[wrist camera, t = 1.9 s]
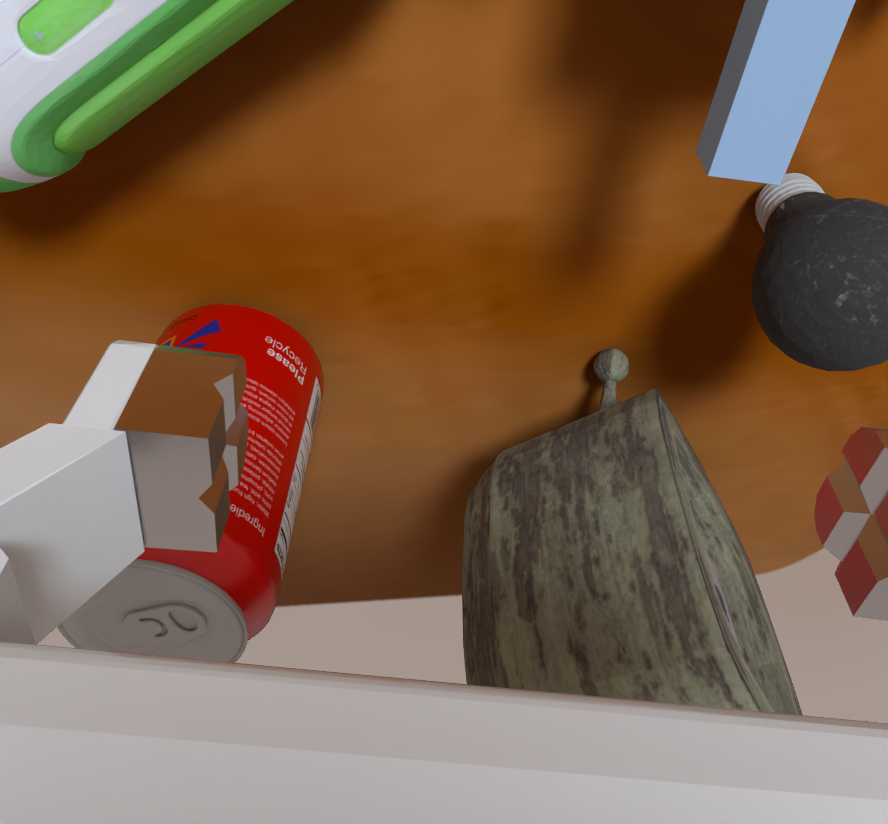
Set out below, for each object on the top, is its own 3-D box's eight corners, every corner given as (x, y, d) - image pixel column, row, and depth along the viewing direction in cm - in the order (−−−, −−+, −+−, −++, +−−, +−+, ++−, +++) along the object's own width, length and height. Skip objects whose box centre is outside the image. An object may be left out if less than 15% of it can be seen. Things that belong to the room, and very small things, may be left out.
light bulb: (679, 209, 34) (740, 354, 26) (788, 94, 31) (893, 219, 23) (774, 278, 36) (857, 431, 28) (885, 176, 33) (1013, 317, 25)
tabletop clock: (733, 505, 45) (929, 1097, 25) (579, 558, 48) (651, 1121, 29) (628, 308, 37) (798, 949, 18) (452, 386, 40) (434, 1004, 21)
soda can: (352, 404, 41) (305, 673, 29) (212, 440, 43) (116, 707, 31) (282, 271, 36) (192, 530, 25) (127, 318, 38) (-24, 580, 26)
